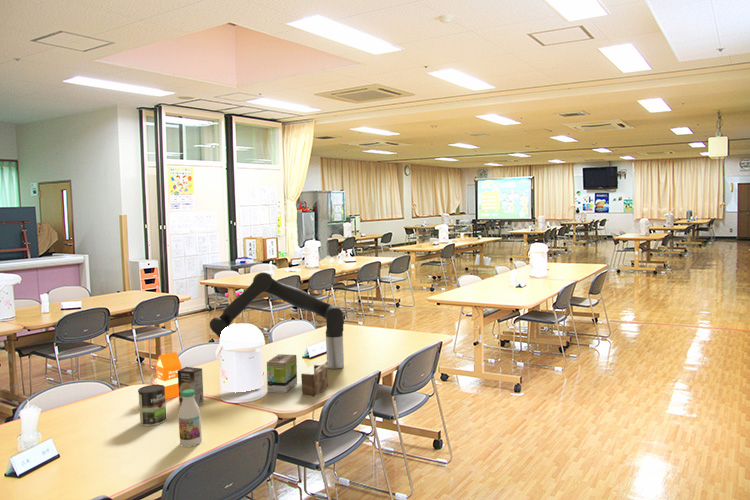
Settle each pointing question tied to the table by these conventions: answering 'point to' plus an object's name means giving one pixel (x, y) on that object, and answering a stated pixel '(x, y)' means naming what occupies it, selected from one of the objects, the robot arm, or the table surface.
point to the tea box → (281, 373)
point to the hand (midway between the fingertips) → (262, 375)
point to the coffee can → (152, 405)
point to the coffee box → (191, 383)
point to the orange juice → (168, 373)
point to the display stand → (315, 380)
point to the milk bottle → (189, 420)
